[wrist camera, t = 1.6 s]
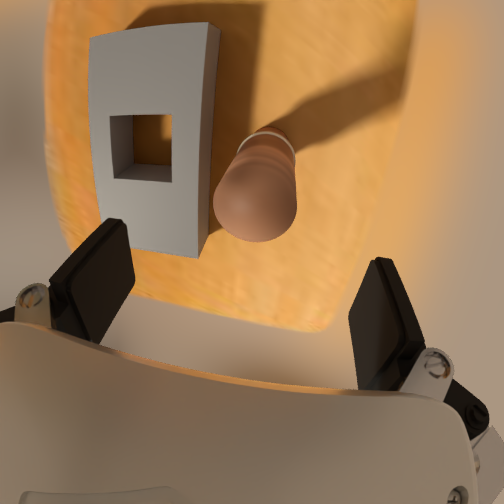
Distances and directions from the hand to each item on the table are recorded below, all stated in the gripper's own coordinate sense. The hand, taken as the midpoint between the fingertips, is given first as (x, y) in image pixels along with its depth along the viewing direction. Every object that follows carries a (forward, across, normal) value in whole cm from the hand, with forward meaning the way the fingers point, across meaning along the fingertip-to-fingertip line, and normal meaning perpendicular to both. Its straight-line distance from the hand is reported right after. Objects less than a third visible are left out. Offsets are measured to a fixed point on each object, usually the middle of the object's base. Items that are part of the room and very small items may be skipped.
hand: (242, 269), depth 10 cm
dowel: (+16, 0, -1) cm, 16 cm away
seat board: (+16, +10, -1) cm, 19 cm away
